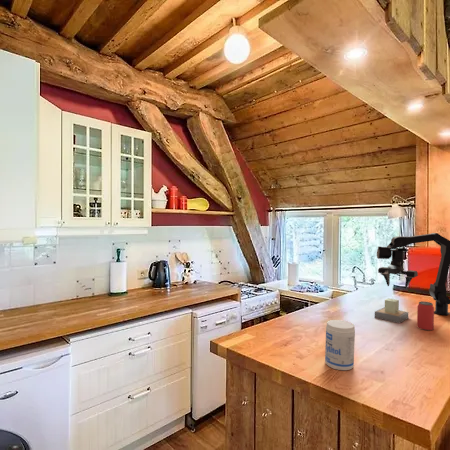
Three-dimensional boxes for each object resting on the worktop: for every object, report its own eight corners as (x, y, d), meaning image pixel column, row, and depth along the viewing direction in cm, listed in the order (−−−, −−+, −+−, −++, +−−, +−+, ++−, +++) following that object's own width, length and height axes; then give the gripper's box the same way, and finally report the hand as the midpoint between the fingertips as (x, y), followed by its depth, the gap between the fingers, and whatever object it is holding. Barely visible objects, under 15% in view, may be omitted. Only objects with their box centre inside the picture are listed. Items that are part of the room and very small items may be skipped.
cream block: (388, 309, 172) (388, 298, 172) (398, 311, 168) (398, 300, 168) (384, 311, 169) (384, 299, 168) (394, 313, 165) (395, 301, 165)
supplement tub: (320, 365, 114) (321, 324, 114) (331, 356, 121) (331, 317, 121) (348, 374, 108) (349, 330, 107) (358, 364, 115) (358, 323, 115)
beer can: (436, 331, 149) (436, 305, 148) (420, 330, 150) (420, 304, 150) (430, 326, 155) (430, 301, 155) (414, 325, 156) (415, 300, 156)
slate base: (384, 312, 177) (384, 307, 177) (408, 318, 168) (408, 311, 168) (374, 317, 169) (374, 311, 169) (399, 323, 160) (399, 316, 160)
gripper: (374, 258, 181) (373, 286, 182) (410, 262, 168) (410, 292, 168) (382, 257, 189) (382, 284, 189) (418, 260, 175) (417, 289, 175)
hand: (397, 287), depth 180 cm, fingers open, 9 cm apart
